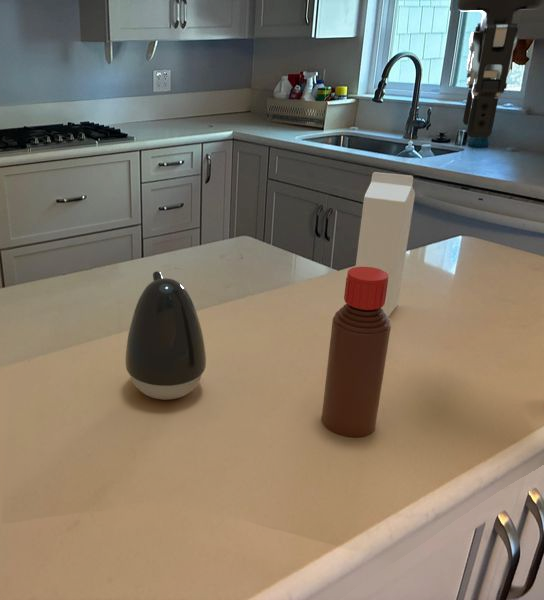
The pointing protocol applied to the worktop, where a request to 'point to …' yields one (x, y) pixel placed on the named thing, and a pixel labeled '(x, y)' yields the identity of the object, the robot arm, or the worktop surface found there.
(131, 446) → the worktop surface
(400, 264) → the milk
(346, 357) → the bottle
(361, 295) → the cap
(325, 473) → the worktop surface
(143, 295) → the dark grey egg-shaped piece
